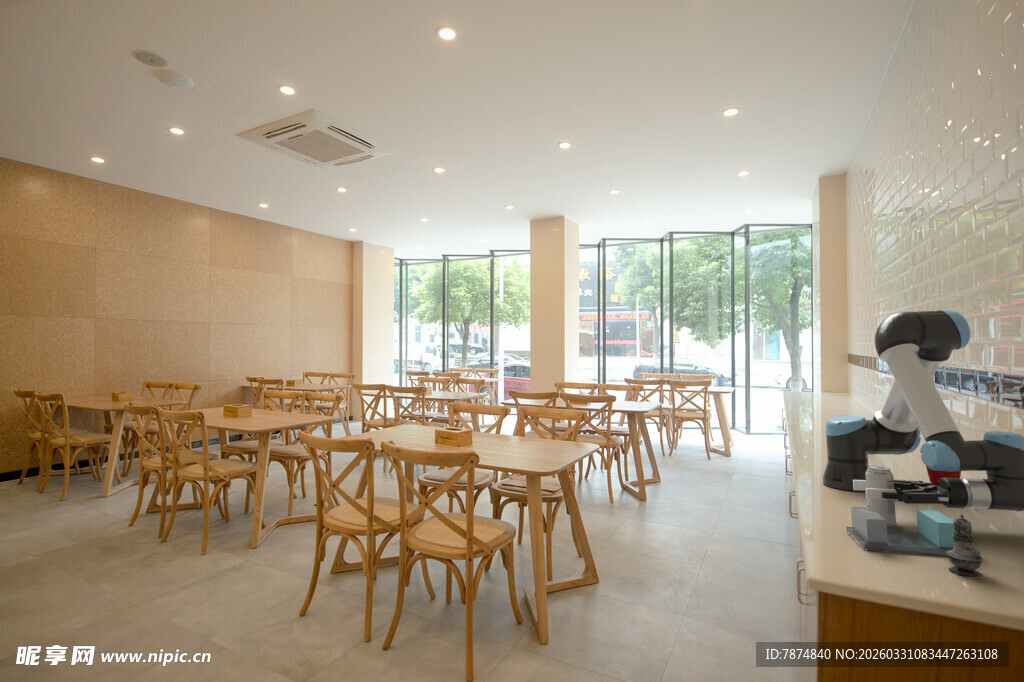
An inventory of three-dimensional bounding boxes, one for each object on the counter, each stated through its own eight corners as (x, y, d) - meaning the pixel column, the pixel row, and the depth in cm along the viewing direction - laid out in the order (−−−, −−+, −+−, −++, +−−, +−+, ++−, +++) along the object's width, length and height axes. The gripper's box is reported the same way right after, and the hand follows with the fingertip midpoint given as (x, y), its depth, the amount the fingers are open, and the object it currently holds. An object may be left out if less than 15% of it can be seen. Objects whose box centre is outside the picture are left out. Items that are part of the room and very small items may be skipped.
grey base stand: (846, 532, 127) (845, 505, 128) (950, 538, 121) (948, 509, 121) (864, 550, 116) (863, 520, 116) (980, 558, 110) (978, 526, 110)
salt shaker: (939, 567, 106) (935, 510, 106) (964, 565, 106) (960, 509, 107) (966, 580, 100) (962, 519, 100) (993, 577, 100) (989, 518, 101)
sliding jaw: (917, 531, 122) (916, 509, 122) (937, 533, 121) (935, 510, 121) (939, 547, 113) (937, 522, 113) (960, 548, 111) (959, 523, 112)
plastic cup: (956, 489, 162) (954, 452, 162) (975, 498, 152) (972, 459, 152) (916, 487, 165) (914, 451, 166) (931, 496, 155) (929, 458, 156)
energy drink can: (871, 518, 137) (868, 464, 138) (898, 523, 133) (895, 467, 133) (865, 524, 133) (862, 467, 134) (893, 529, 129) (889, 471, 129)
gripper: (988, 521, 118) (876, 515, 124) (940, 496, 138) (846, 492, 144) (986, 489, 118) (874, 485, 125) (939, 469, 138) (845, 466, 145)
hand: (859, 489), depth 135 cm, fingers open, 8 cm apart
